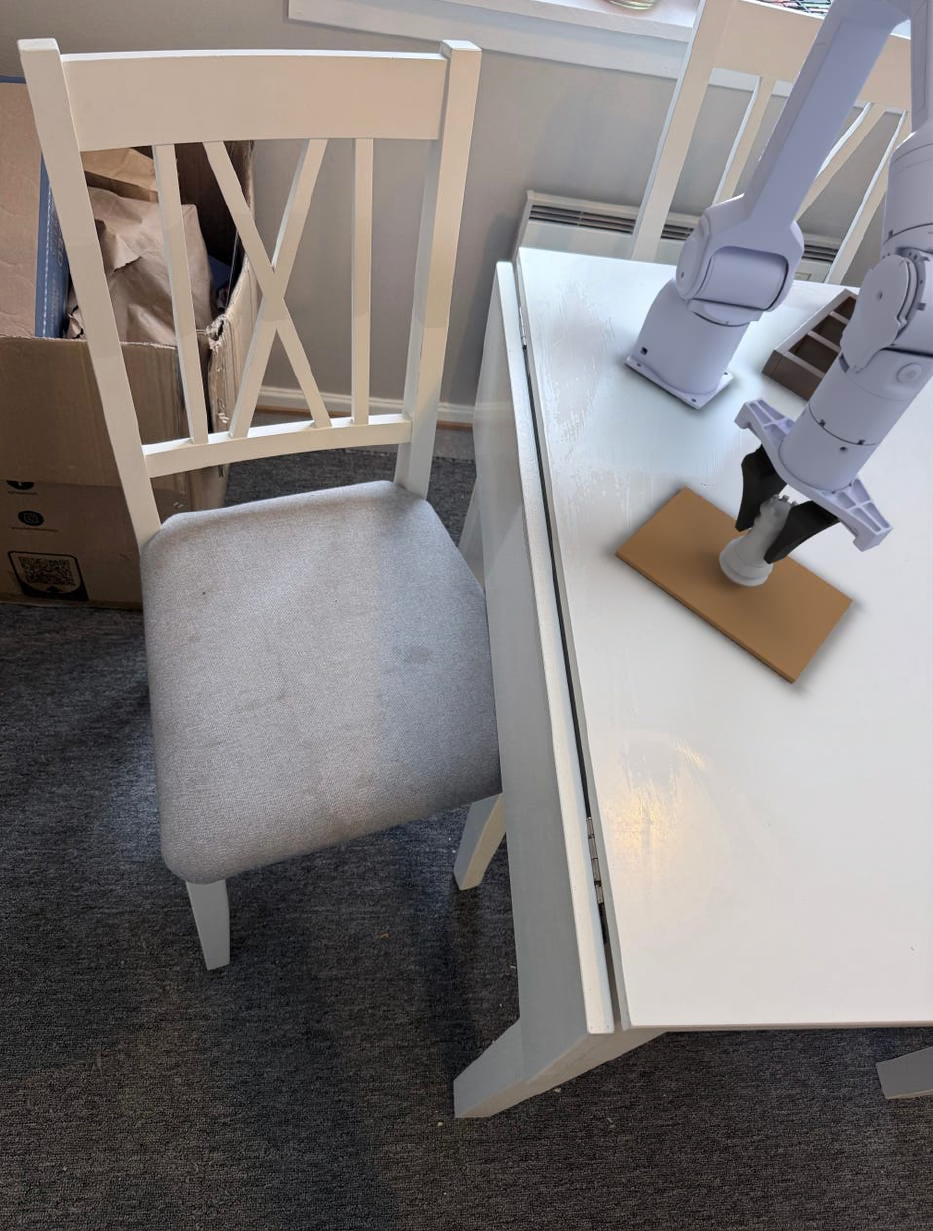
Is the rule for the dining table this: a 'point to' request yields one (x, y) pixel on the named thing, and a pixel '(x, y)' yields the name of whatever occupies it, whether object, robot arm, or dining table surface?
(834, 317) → the stand
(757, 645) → the cork mat
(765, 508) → the rook chess piece
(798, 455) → the robot arm
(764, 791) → the dining table surface
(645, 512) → the dining table surface
